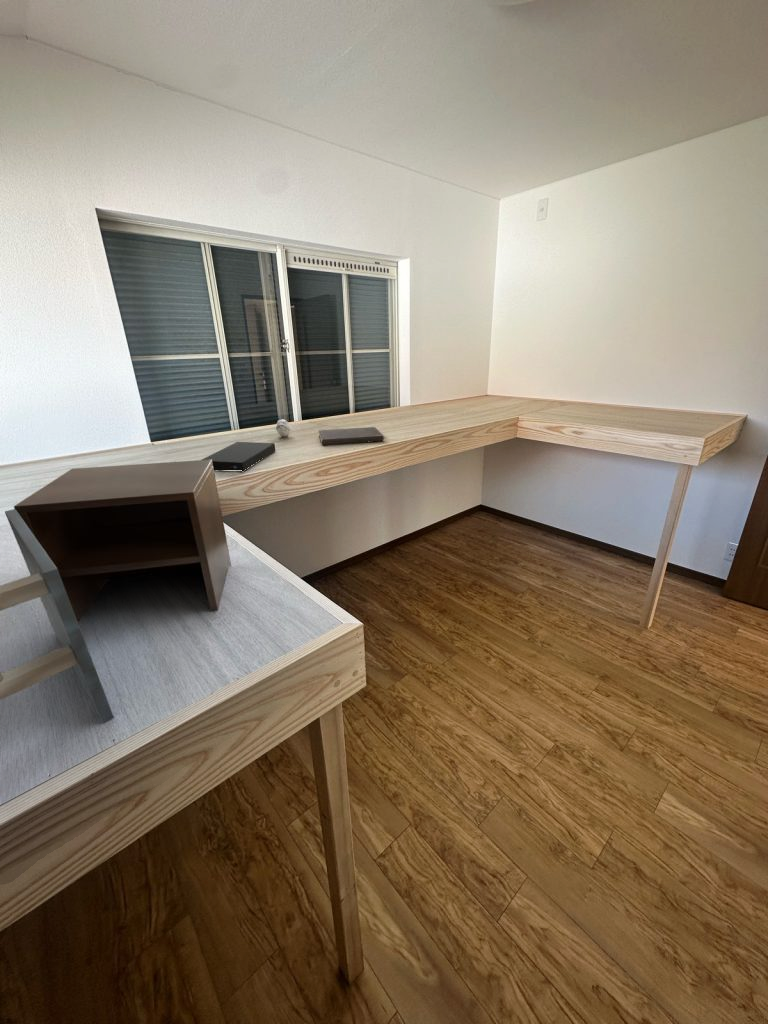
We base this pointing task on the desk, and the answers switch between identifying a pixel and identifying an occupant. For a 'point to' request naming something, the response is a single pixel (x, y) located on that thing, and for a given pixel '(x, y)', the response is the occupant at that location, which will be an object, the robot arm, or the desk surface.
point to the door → (61, 617)
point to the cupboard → (130, 526)
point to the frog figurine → (283, 428)
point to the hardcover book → (349, 435)
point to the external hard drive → (240, 455)
